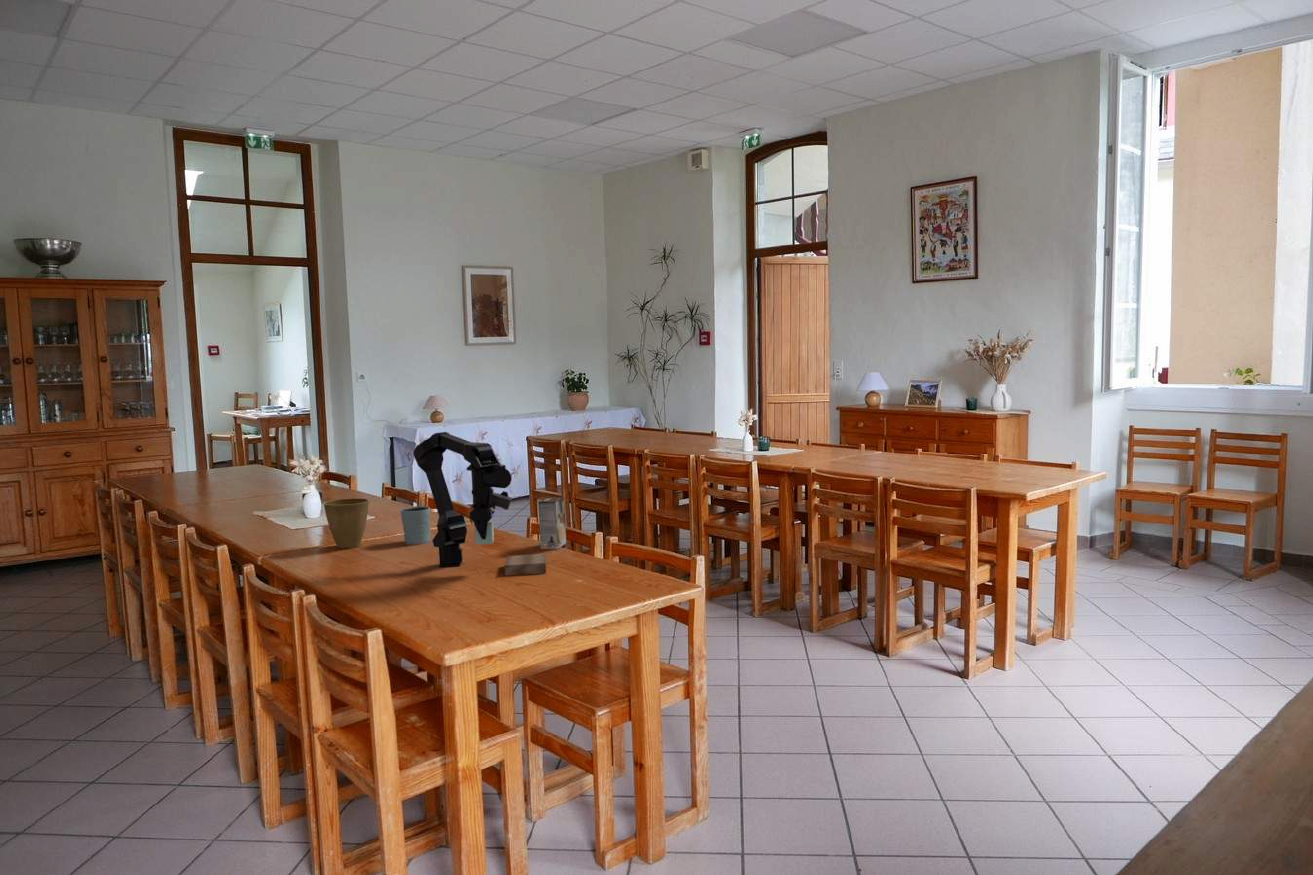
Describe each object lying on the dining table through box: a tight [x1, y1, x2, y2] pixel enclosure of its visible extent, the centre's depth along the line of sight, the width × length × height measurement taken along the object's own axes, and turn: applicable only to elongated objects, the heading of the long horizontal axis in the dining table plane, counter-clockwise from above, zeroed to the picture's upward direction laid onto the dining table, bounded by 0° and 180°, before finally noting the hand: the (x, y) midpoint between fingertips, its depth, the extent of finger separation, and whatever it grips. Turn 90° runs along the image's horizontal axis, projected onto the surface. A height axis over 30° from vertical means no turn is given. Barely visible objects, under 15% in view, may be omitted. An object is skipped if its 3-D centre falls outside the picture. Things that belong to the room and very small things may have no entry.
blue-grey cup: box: [400, 506, 431, 546], centre depth 309 cm, size 10×10×12 cm
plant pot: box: [323, 497, 370, 549], centre depth 305 cm, size 15×15×16 cm
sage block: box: [474, 520, 495, 546], centre depth 262 cm, size 5×5×6 cm
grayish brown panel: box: [504, 553, 548, 576], centre depth 265 cm, size 12×12×3 cm
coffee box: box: [537, 496, 567, 550], centre depth 295 cm, size 9×6×16 cm
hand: (484, 537), depth 263 cm, fingers closed on sage block, 5 cm apart
